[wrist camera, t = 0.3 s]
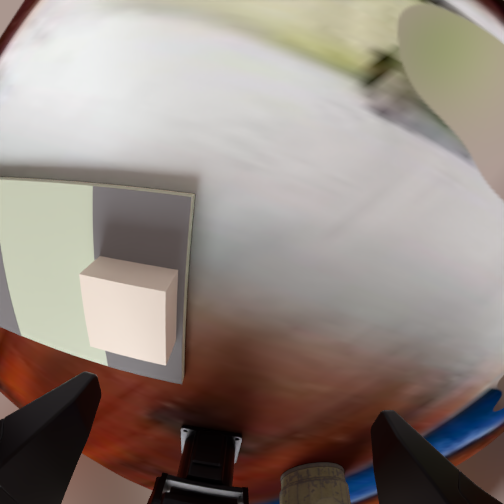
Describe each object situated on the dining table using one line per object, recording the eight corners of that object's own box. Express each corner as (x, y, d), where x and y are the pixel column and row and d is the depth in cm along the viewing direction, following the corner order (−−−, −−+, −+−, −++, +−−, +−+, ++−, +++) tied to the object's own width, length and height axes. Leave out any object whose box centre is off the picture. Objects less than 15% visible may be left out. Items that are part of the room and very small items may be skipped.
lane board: (184, 376, 25) (181, 383, 24) (-8, 316, 25) (-13, 320, 24) (195, 193, 19) (191, 196, 18) (-31, 176, 19) (-38, 178, 18)
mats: (181, 383, 24) (181, 384, 24) (-13, 320, 24) (-13, 320, 24) (191, 196, 18) (191, 197, 18) (-38, 178, 18) (-39, 178, 18)
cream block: (176, 339, 22) (166, 365, 19) (106, 324, 22) (90, 346, 19) (178, 269, 20) (165, 291, 17) (99, 256, 20) (79, 273, 17)
